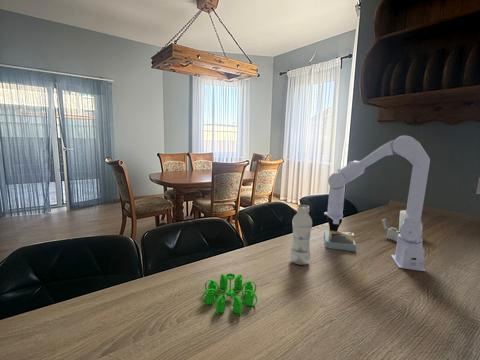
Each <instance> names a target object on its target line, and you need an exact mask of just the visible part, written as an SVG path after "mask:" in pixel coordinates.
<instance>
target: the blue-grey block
mask: <svg viewBox="0 0 480 360" xmlns="http://www.w3.org/2000/svg"><path fill="white" fill-rule="evenodd" d="M328 237H329V229H328V230H326V229H325V230H324V231H323V239H324V248H327V249H333V250H341V251H342V250H343V251H349V252H356V249H357V245H356V242H355V240H354V242H353V243H352V242H345V238H346V236H345V235H341V234H331V240H329V238H328Z"/></svg>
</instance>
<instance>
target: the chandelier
mask: <svg viewBox="0 0 480 360" xmlns="http://www.w3.org/2000/svg"><path fill="white" fill-rule="evenodd" d="M232 280H234V281H233V282H234V286H233V287H232ZM207 283H208V285H207ZM228 284H229V288H228ZM253 285H254V287H253ZM204 289H205V291H204V292H203V293H202V295H201V301H202V303H203V304H204V305H206V306H207V305H213V304H215V314H217V315H220V314H221V313H224V312H225V310H226V299H227V298H228V297H231V298H232V299H233V302H232V311H233V312H234V313H236V314H237V315H242V311H243V310H242V309H243V304H244V305H246V306H248V307H249V306H251V307H255V306H256V305H257V303H258V296H257V294H256V291H257V284H256V283H255V282H254V281H253V280H247V281H245V282H244V283H243V275H242V274H238V275H237V276H236V277H235V274H234V273H228V274H226V275H225V273H221V274H220V279H219V283H218V281H216V280H214V279H209V280H207V281H205V284H204ZM243 289H244V291H243ZM220 291H221V292H224V293H220ZM238 292H241V294H237V293H238ZM225 295H226V297H225ZM243 296H244V298H243ZM204 297H205V301H204ZM215 297H216V298H215ZM254 297H255V303H254ZM240 298H241V299H240Z"/></svg>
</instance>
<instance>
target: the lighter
mask: <svg viewBox="0 0 480 360" xmlns="http://www.w3.org/2000/svg"><path fill="white" fill-rule="evenodd" d="M381 223H382V226H383V228H384V230H386V235H385V236H386V237H385V238H386V239H387V238H388V240H390V239H391V240H390V241H392V240H393V241H392V242H395V241H396V242H397V239H398V234H400V233H399V230H397V228H396V227H392V226H391V227H390V226H389V223H388V220H387V218H384V219H381Z"/></svg>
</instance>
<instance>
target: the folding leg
mask: <svg viewBox="0 0 480 360" xmlns="http://www.w3.org/2000/svg"><path fill="white" fill-rule="evenodd" d="M328 231H329V237H328V238H329V240H331V234H341V235H345V236H346V238H345V242H352V243H353V242H354V241H355V234H354V232H350V231H349V232H348V231H340V230H339V231H330V230H329V229H328Z"/></svg>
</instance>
